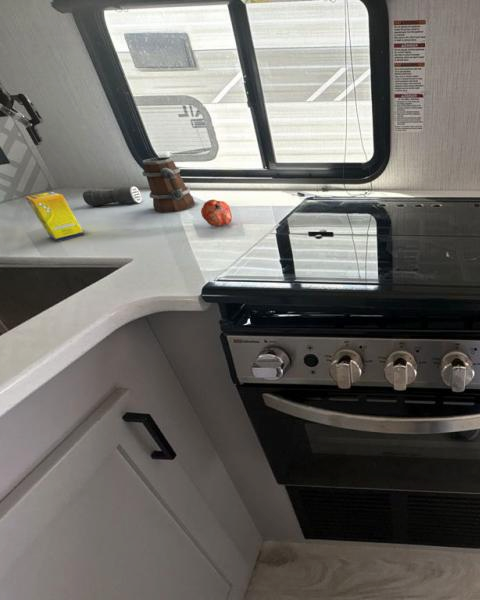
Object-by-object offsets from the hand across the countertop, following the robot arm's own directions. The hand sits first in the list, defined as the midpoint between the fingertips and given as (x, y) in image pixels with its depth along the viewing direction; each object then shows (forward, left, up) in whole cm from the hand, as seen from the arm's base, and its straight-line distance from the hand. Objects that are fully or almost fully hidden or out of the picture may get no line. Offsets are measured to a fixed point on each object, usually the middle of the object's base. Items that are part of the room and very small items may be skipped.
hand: (14, 146), depth 77 cm
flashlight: (+7, +31, -22) cm, 39 cm away
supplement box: (0, 0, -22) cm, 22 cm away
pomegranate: (+37, -13, -22) cm, 45 cm away
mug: (+26, +13, -22) cm, 37 cm away
